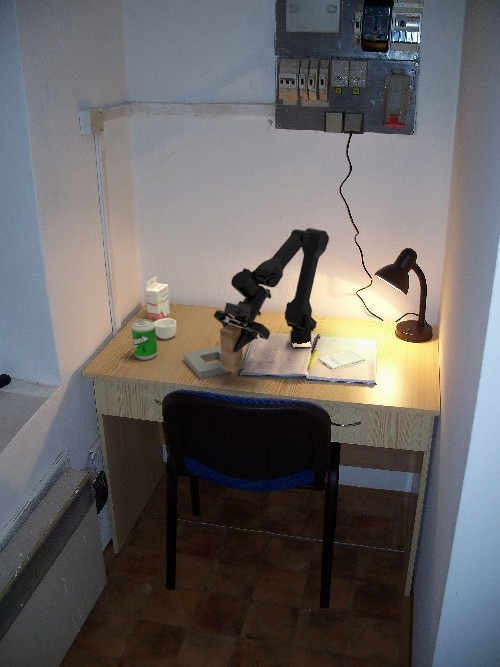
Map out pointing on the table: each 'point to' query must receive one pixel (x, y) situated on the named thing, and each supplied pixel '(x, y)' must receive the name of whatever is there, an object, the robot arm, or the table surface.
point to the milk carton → (157, 299)
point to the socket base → (200, 366)
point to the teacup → (165, 328)
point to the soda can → (144, 339)
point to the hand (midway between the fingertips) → (228, 349)
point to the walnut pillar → (230, 348)
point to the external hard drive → (341, 359)
